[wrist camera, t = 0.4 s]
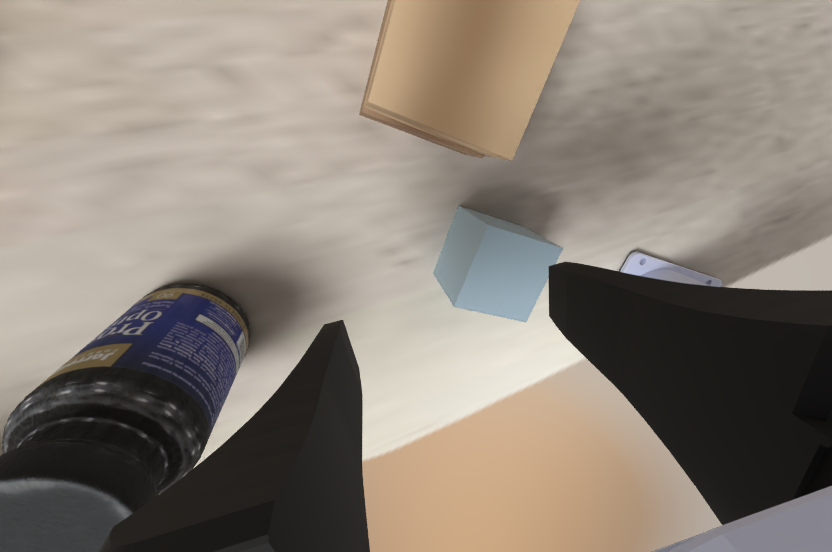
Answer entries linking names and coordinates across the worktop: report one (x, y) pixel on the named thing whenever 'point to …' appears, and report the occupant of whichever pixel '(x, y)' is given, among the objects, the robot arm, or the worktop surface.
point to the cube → (494, 265)
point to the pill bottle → (119, 420)
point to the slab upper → (467, 67)
